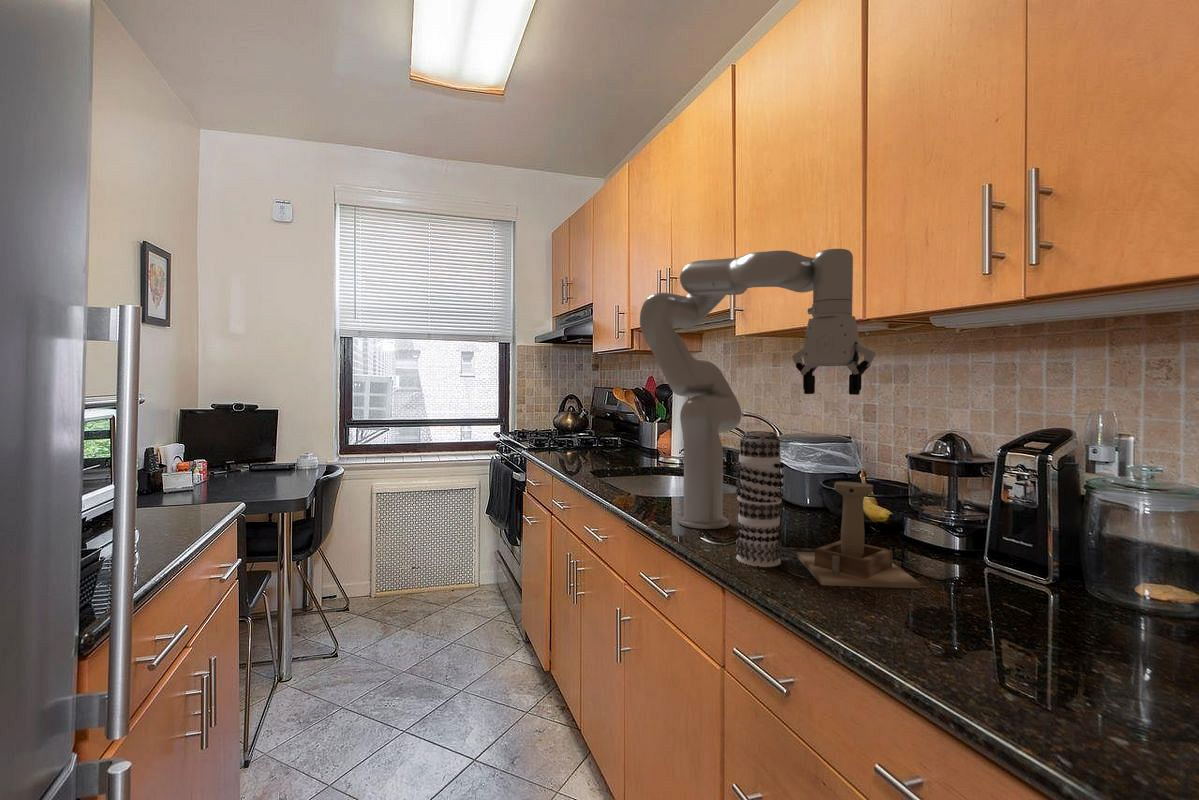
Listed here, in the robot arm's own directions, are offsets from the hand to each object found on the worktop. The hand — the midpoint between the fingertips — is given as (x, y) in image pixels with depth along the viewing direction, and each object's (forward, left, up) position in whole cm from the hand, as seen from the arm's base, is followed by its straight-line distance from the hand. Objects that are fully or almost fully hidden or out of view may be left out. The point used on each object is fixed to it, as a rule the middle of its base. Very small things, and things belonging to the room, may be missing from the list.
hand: (831, 394), depth 116 cm
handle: (+14, 0, -32) cm, 34 cm away
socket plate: (+14, 0, -32) cm, 35 cm away
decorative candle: (+9, -16, -32) cm, 37 cm away
